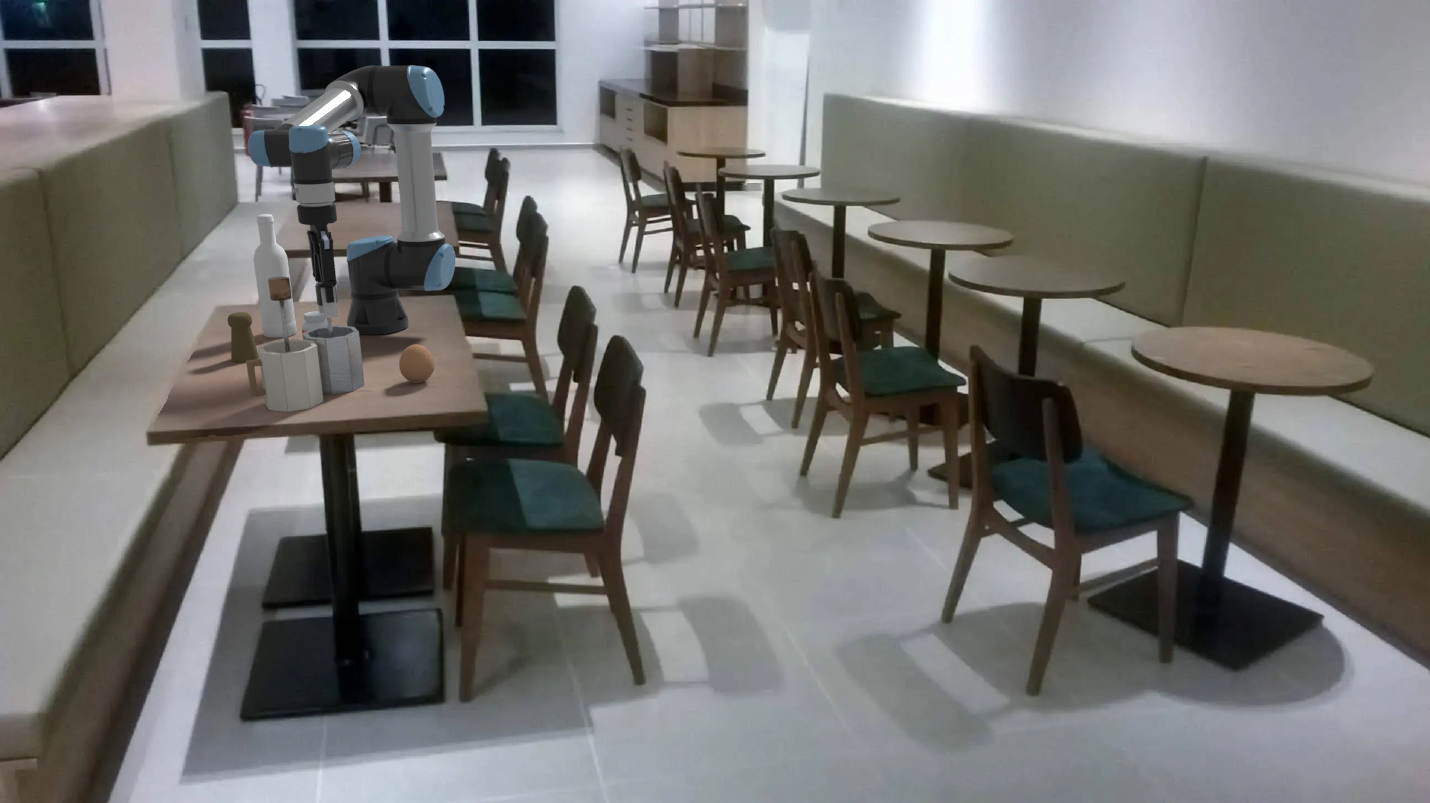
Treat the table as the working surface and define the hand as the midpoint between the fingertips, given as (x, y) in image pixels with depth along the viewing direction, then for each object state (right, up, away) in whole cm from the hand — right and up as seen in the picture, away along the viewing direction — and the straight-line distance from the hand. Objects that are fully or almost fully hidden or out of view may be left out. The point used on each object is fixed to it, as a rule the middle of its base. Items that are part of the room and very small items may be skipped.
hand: (328, 314), depth 232 cm
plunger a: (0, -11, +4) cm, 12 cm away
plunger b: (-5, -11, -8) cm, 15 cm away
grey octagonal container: (-1, -15, +4) cm, 16 cm away
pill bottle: (-11, -9, +24) cm, 28 cm away
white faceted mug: (-6, -19, -6) cm, 21 cm away
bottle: (-28, -2, +45) cm, 54 cm away
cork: (-28, -9, +25) cm, 38 cm away
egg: (+17, -14, +8) cm, 24 cm away
